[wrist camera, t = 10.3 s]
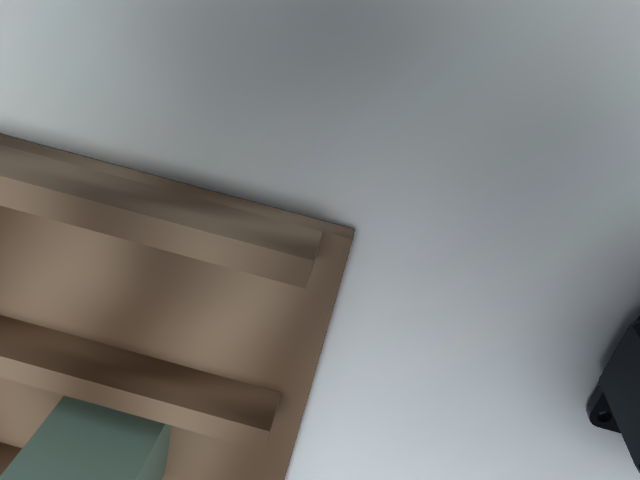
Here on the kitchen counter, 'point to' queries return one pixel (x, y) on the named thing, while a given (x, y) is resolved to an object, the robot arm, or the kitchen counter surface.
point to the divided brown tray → (160, 309)
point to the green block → (92, 446)
